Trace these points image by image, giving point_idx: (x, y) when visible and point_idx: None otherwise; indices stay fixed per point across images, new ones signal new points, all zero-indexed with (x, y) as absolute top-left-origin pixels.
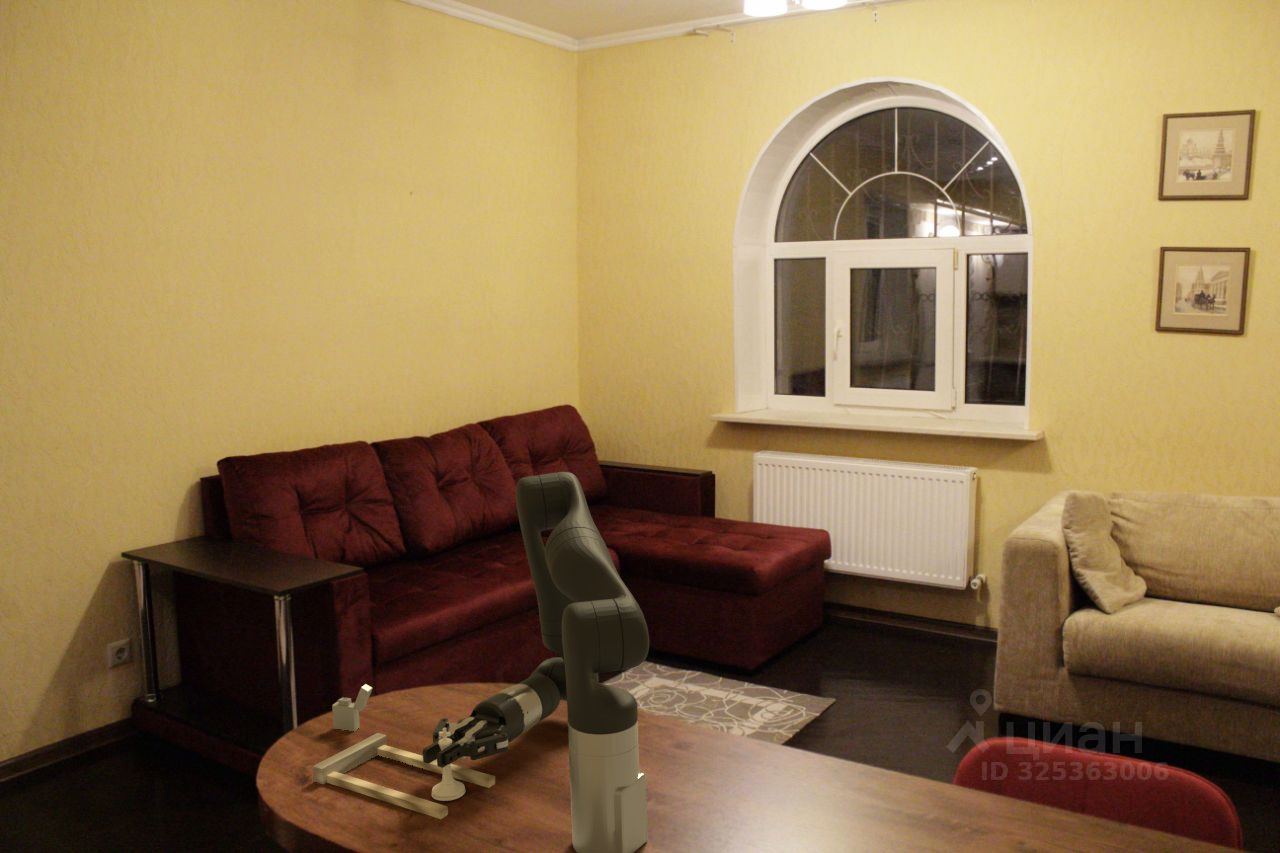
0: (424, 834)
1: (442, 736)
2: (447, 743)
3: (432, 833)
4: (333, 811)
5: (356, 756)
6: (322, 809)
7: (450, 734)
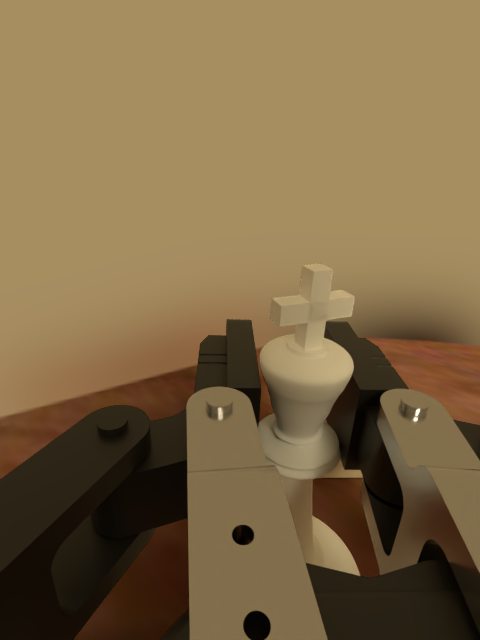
0: (166, 395)
1: (407, 397)
2: (266, 344)
3: (149, 403)
4: (446, 381)
5: None
6: (473, 377)
7: (278, 318)
